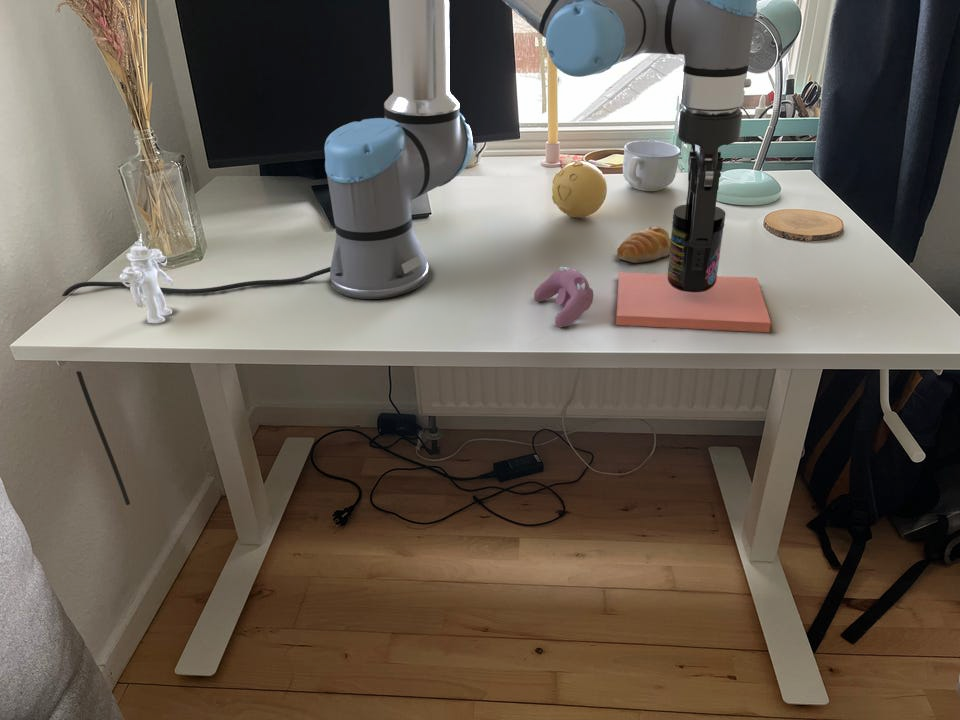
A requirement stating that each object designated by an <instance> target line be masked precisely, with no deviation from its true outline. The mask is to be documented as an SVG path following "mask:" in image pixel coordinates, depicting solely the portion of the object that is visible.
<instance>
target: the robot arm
mask: <svg viewBox="0 0 960 720" xmlns="http://www.w3.org/2000/svg"><path fill="white" fill-rule="evenodd" d="M501 2H503V3H504V4H505V5H507V7H509V9H511V10H512V11H513V12H515V13H516V14H517V15H518V16H519V17H520V18H522V19H523V20H524V21H525V22H526V23H527V24H529V26H530V27H532V28H533V29H534V30H535V31H537V32H538V33H539V34H540V35H541V36H543V37H544V38H545V47H546V50H547V53H548V55H549V57H550V59H551V62H552V64H553V65H554V66H555V68H557V69H558V70H559V71H560V72H562V73H563V74H565V75H568V76H569V77H575V78H583V77H588V76H594V75H599V74H602V73H604V72H606V71H608V70H610V69H611V68H612V67H614V66H615V65H618V64H620V63H623V62H626V61H628V60H630V59H633V58H635V57H637V56H639V55H641V54H652V55H653V54H657V55H672V56H678V55H683V61H684V62H683V67H682V69H683V70H682V75H681V86H680V95H679V104H680V105H681V106H682V108H681V109H680V110H679V114H678V124H677V132H676V133H677V138H678V139H679V141H680V142H682V143H684V144H687V145H691V146H690V149H691V150H690V151H688V157H687V160H688V161H687V162H688V171H687V180H688V184H687V193H686V200H685V201H686V202H685V205H686V204H693V205H692V218H691V231H690V240H689V242H686V241H684V246H687V255H686V264H685V273H684V283H683V290H697V291H704V286H705V278H706V270H707V262H708V254H709V248H711V247H712V243H713V241H712V235H713V226H714V217H715V208H716V207H717V200H718V191H719V185H720V178H721V176H722V173H721V172H722V170H723V164H724V162H723V161H724V159H723V157H722V152H721V151H719V148H720V147H722V146H728V145H731V144H734V143H736V142H737V141H738V140H739V138H740V133H741V126H742V119H743V111H742V110H741V108H740V107H742V106H743V105H744V101H745V94H746V91H745V90H744V89H745V88H750V87H751V86H752V80H751V79H750V78H747V77H748V71H749V63H750V55H751V49H752V42H753V36H754V30H755V24H756V18H757V15H758V8H757V6H758V0H501ZM388 3H389V4H388V7H389V8H388V9H389V25H390V26H389V27H390V29H389V30H390V46H391V47H390V49H391V69H392V88H393V89H392V90H393V91H392V93H391V94H390V95H389V96H388V98H386V100H385V101H384V103H383V111H384V117H374V118H364V119H362V120H360V121H351V122H348V123H347V124H343V125H342V126H340V127H338V128H336V129H335V130H333V131H332V132H330V134H329V135H328V136H327V137H326V139H325V143H324V147H323V149H324V158H325V161H324V170H325V173H326V178H327V184H328V191H329V196H330V203H331V210H332V215H333V221H334V222H333V223H334V228H335V242H334V248H333V253H332V258H331V264H330V266H328V267H325V268H322V269H319V270H316V271H313V272H311V273H308V274H306V275H303V276H298V277H293V278H283V279H281V278H280V279H260V280H259V279H258V280H249V281H243V282H236V283H231V284H225V285H220V286H219V285H218V286H212V287H205V288H174V287H173V288H172V287H171V288H170V287H161V286H159V287H160V289H161V291H162V293H164V294H165V293H166V294H177V295H178V294H179V295H189V294H191V295H192V294H194V295H195V294H197V295H198V294H208V293H217V292H222V291H227V290H233V289H238V288H239V289H240V288H245V287H253V286H267V285H270V286H271V285H288V284H296V283H302V282H305V281H307V280H311V279H312V278H315V277H319V276H321V275H324V274H327V273H329V276H330V281H331V286H332V288H333V289H334V290H335V291H336V292H337V293H339V294H341V295H343V296H346V297H348V298H355V299H359V300H360V299H362V300H379V299H388V298H389V299H390V298H394V297H397V296H401V295H405V294H407V293H410V292H412V291H415V290H416V289H418V288H420V287H421V286H423V285H424V284H425V283H426V282H427V280H428V278H429V264H428V261H427V258H426V255H425V253H424V251H423V248H422V246H421V244H420V242H419V240H418V237H417V236H416V232H415V231H414V226H413V216H412V206H411V201H413V200H415V199H417V198H419V197H421V196H422V195H424V194H427V193H428V192H430V191H433V190H434V189H436V188H439V187H443V186H444V185H446V184H447V185H448V184H449V183H451V182H452V180H454V179H455V178H456V177H457V176H459V175H460V174H462V172H464V170H465V169H466V168H467V166H468V164H469V162H470V160H471V157H472V154H473V145H474V143H473V134H472V130H471V127H470V125H469V124H467V123H466V118H465V117H464V115H463V114H462V113H461V112H460V101H458V99H457V98H456V97H455V96H454V95H453V94H452V93H451V90H450V0H388ZM130 283H131V282H127V281H126V283H125V284H127V285H128V284H130ZM85 287H123V288H128V287H127V286H125V285H124V284H123V283H122V282H121V281H82V282H77V283H74V284H73V285H71V286H69V287H68V288H66V289H65V291H64V292H63V293H62V295H61V297H68V296H69V295H70V294H71V293H72V292H73V291H76V290H78V289H80V288H85ZM75 373H76V376H77V379H78V382H79V385H80V387H81V390H82V393H83V396H84V399H85V402H86V404H87V407H88V409H89V411H90V415H91V417H92V420H93V423H94V425H95V427H96V429H97V432H98V435H99V437H100V440H101V443H102V445H103V447H104V450H105V453H106V455H107V457H108V460H109V463H110V466H111V468H112V471H113V473H114V475H115V479H116V481H117V483H118V486H119V489H120V492H121V494H122V498H123V499H124V503H125V505H126V506H129V505H130V504H131V502H130V499H129V496H128V493H127V490H126V488H125V485H124V481H123V480H122V477H121V474H120V471H119V469H118V466H117V464H116V460H115V458H114V455H113V454H112V453H113V452H112V451H111V448H110V445H109V443H108V440H107V438H106V436H105V433H104V431H103V428H102V424H101V423H100V421H99V418H98V414H97V413H96V410H95V407H94V404H93V402H92V399H91V396H90V394H89V390H88V388H87V385H86V383H85V380H84V375H83V373H82V371H75Z"/></svg>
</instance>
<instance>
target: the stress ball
mask: <svg viewBox="0 0 960 720" xmlns="http://www.w3.org/2000/svg"><path fill="white" fill-rule="evenodd" d="M607 185H608V184H607V180H606V178H605V176H604V174H603V172H602V171H601V170H600V169H599V168H598V167H597V166H595V165H594V164H592V163H590V162H588V161H586V160H577V161H574V162H570V163H569V164H567V165H565V166H563V167H562V168H561V169H560V170H559V171H558V172H557V173H555V175H554V177H553V179H552V188H551V194H552V195H551V200H552V201H553V204H555V205H556V207H557V209H559V210H560V211H561V212H562V213H563V214H565V215H566V216H569V217H572V218H585V217H588V216H590V215H593V214H595V213H596V212H597V211H598V210H599V209H600V208H601V207H602V205H603V204H604V202H605V200H606V197H607V191H608V186H607Z"/></svg>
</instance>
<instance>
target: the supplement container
mask: <svg viewBox="0 0 960 720" xmlns="http://www.w3.org/2000/svg"><path fill="white" fill-rule="evenodd" d="M692 205H693V204H686V203H685V204H681V205H678V206H676V207H675V208H674V209H673V210H672V211H673V212H672V222H671V234H670V235H671V236H670V238H671V244H670V254H669V255H668V264H667V265H668V266H667V274H668V275H667V279H668V282H669V284H670V285H671V286H672V287H674V288H676V289H678V290H681V291H685V292H703V291H697V290H683V283H684V273H685V264H686V255H687V246H684V241H686V242H689V240H690V231H691V218H692ZM725 221H726V211H725V210H724V209H722V208H721V207H718V206H716V208H715V217H714V226H713V235H712V241H713V243H712V247H711V248H709V254H708V262H707V270H706V278H705V286H704V291H707V290H709V289H711V288H712V287H713V286H714V285H715V283H716V280H717V276H718V272H719V264H720V257H721V249H722V242H723V235H724V227H725Z"/></svg>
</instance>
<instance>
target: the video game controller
mask: <svg viewBox="0 0 960 720" xmlns="http://www.w3.org/2000/svg"><path fill="white" fill-rule="evenodd" d="M555 295H556V305H558V306H562V309H561V310H560V311H559V312H558V313H557V314H556V316H555V318H554V324H555V326H556V327H558V328H564V327H567V326H570V325H572V324H574V323H575V322H576V321H577V320H578V319H579V318H580V317H581V316H583V314H584V313H585V312H586V311H587V310H589V309H590V307H591V306H592V303H593V301H594V295H595V294H594V290H593V288H592V287H590V283H589V281H588V279H587V278H586V276H585V275H584V274H583V273H582V272H580V270H576V269H574V268H572V267H563V266H560V267H559V269H556V270H554V272H552V274H550V276H549V277H547V279H546V280H544V281H543V282H542V283H541V284H539V286H538V287H536V288H535V290H534V293H533V299H534V300H535V301H536V302H539V303H541V302H545V301H547V300H549V299H551V298H553V297H554V296H555Z"/></svg>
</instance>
